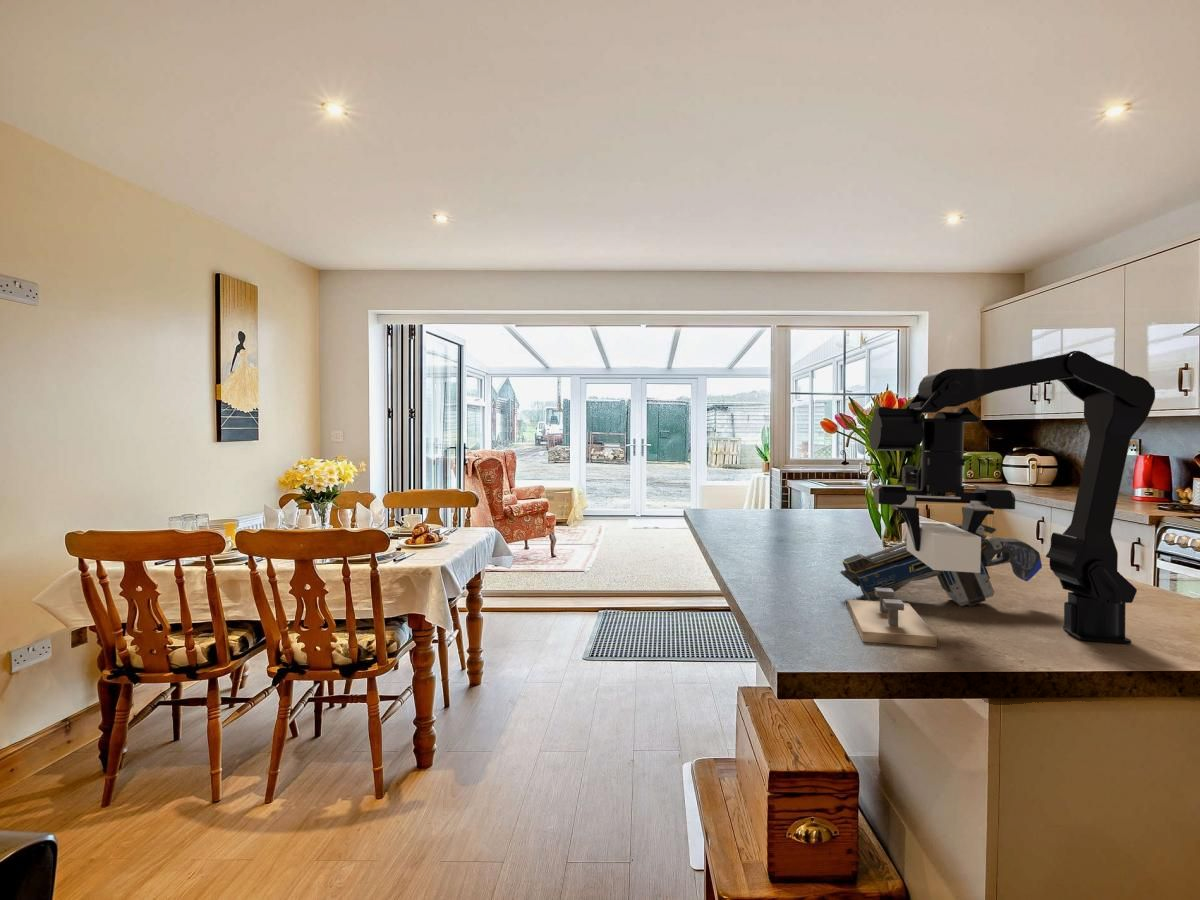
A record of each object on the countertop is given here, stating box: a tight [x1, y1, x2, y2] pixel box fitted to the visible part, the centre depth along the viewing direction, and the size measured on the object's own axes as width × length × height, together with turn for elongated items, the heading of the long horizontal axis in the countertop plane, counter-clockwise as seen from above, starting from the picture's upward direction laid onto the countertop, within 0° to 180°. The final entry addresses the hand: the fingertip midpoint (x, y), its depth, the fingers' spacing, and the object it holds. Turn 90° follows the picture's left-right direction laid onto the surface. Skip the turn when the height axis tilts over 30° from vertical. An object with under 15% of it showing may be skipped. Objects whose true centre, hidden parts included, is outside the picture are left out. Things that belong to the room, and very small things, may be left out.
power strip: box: [906, 520, 981, 573], centre depth 99 cm, size 18×6×5 cm, turn 165°
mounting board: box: [846, 588, 938, 648], centre depth 103 cm, size 10×20×5 cm, turn 165°
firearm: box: [840, 522, 1043, 607], centre depth 118 cm, size 8×33×15 cm, turn 77°
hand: (939, 552), depth 99 cm, fingers closed on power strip, 6 cm apart
